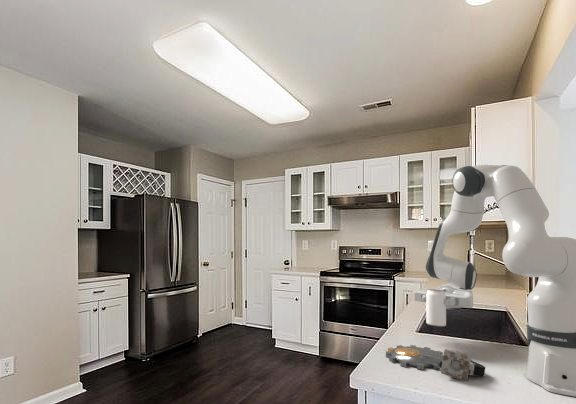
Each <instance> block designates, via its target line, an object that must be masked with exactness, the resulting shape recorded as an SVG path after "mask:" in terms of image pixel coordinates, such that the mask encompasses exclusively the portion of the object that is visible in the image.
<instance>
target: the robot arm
mask: <svg viewBox="0 0 576 404" xmlns="http://www.w3.org/2000/svg"><path fill="white" fill-rule="evenodd" d="M451 185H452V188H453V190H454V192H453V195H452V198H451V199H452V200H451V205H450V211H449V213H448V215H447V217H445V218H442V220H441V221H440V223H439V224H438V228H437V230H436V233H435V237H434V240H433V243H432V246H431V250H430V253H429V256H428V258H427V260H426V263H425V270H426V272H427V274H428V275H429V277H431V278H433V279H438V280H442V281H446V282H448V283H445V284H441V285H440V286H438V287H437V288H436V290H443V291H444V292H445V295H446V299H445V300H443V302H444V305H446V310H447V309H458V308H463V309H464V308H465V309H472V308H473V307H474V294H473V289H474V288H475V285H476V283H477V278H478V273H477V272H478V271H477V269H476V267H475V266H474V264H473V263H472V262H469V261H466V260H462V259H458V258H453V257H450V256H447V255H445V254H444V252H445V249H446V244H447V243H448V242H447V241H448V238H449V237H450V236H451V235H456V234H462V233H463V234H464V233H468V232H472V231H474V230H476V229H477V228H478V227H479V226H480V225H481V223H482V221H483V216H484V210H485V209H484V208H485V201H486V198H488V197H489V198H490V197H494V200H495V202H496V204H497V206H498V208H499V211H500V212H501V214H502V216H503V219H504V221H505V224H506V226H507V234H508V238H507V239H508V240H507V242H506V243H505V245H504V246H503V249H502V255H501V257H502V261H503V264H504V266H505V267H506V269H507V270H508V271H510V272H511V273H512V274H515V275H519V276H521V277H522V276H523V277H528V278H538V279H537V282H536V285H535V287H534V288H533V289H532V291H530V292H529V293H528V295H527V297H526V305H527V324H526V341H527V345H528V354H527V355H528V358H527V362H526V363H527V364H526V367H525V372H524V376H525V378H526V379H528V380H529V381H531V382H533V383H535V384H536V385H538V386H541V387H542V388H543V389H545V390H547V391H548V392H549V393H550V392H551V393H555V394H560V395H564V396H568V397H569V396H572V397H576V238H572V237H568V236H549V234H548V233H547V230H546V225H545V223H546V222H547V221H548V219H549V216H550V211H549V210H548V208H547V205H546V204H545V202H544V201H543V199H542V196H541V195H540V194H539V192H538V190H537V188H536V186H535V185H534V184H533V182H532V180H530V178H529V177H528V175H527V174H525V172H524V171H523V170H522V169H521V168H520V167H518V166H515V165H506V164H502V165H499V164H478V165H466V166H463V167H459V168H457V169H456V170H455V172H454V174H453V175H452V184H451ZM427 291H428V289H427V290H425V289H419V290H415V291H413V294H412V295H413V300H414V301H415V302H418V303H426V293H427Z"/></svg>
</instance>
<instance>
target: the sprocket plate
mask: <svg viewBox="0 0 576 404" xmlns="http://www.w3.org/2000/svg"><path fill="white" fill-rule="evenodd" d="M443 356H444V352H443V351H441V350H432V349H431V347H427V346H424V347H418V346H416V345H413V344H410V345H409V346H403V345H402V344H399V345H396V347H388V348H387V350H386V351H385V358H388V361H389V362H391V363H398V364H400V365H399V366H400V367H404V368H407V367H412V368H416V370H422V371H424V370H425V369H432V370H434V371H436V370H441V369H440V368H441V367H442V359H443ZM440 366H441V367H440Z"/></svg>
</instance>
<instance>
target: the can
mask: <svg viewBox="0 0 576 404" xmlns="http://www.w3.org/2000/svg"><path fill="white" fill-rule="evenodd" d="M427 290H428V291H427V293H426V302H425V308H426V309H425V314H426V315H425V318H426V319H425V321H426V322H425V323H426V324H427V325H428V326H432V327H433V326H434V327H446V326H447V308H446V305H444V302H443V300H445V299H446V295H445V292H444V291H443V290H437V289H435V288H434V289H430V288H428V289H427Z"/></svg>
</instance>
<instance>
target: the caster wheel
mask: <svg viewBox="0 0 576 404" xmlns="http://www.w3.org/2000/svg"><path fill="white" fill-rule="evenodd" d="M440 368H441V369H440V374H442V375H445V376H448V377H450V378H453V379H457V380H459V381H463V382H468V378H469V377H468V376H469V375H470V376H476V377H482V378H483V377H485V373H486V366H484V365H483V364H480V363H479V362H476V361H473V360H472V358H471V356H470V355H467V354H462V353H460V352H459V351H457V350H455V349H451V350H450V349H446V348H445V349H444V352H443V359H442V366H441V367H440Z"/></svg>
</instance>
